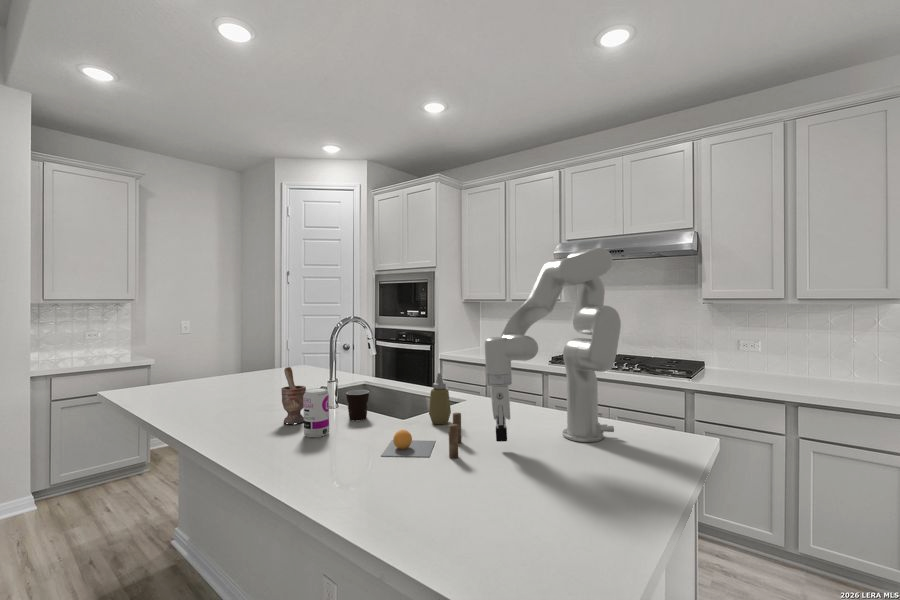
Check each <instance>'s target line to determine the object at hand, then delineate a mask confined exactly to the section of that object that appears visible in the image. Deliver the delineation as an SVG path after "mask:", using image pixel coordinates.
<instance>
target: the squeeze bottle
mask: <svg viewBox="0 0 900 600" xmlns="http://www.w3.org/2000/svg"><path fill="white" fill-rule="evenodd" d="M428 409H429V410H428V414H429V418H430V421H431V423H432V424H435V425H445V424H448V423H449V420H450V416H451V413H452V410H451V409H452V408H451V403H450V392H449V389H448V388H447V383H446V382H444V380H443V376H442V373H441V372H439V373H438V372H437V376H436V380H435V382H434V383H433V384H432V389H431V390H430V395H429V408H428Z"/></svg>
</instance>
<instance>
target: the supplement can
mask: <svg viewBox="0 0 900 600" xmlns="http://www.w3.org/2000/svg"><path fill="white" fill-rule="evenodd" d="M329 396H330V394H329V392H328V390H327V388H323V387H321V388H320V387H319V388H310V389H306V391H305V394H304V396H303V417H304V422H303V435H304V436H305V437H306V436H307V437H306V438H308V437H319V438H321V437H320V436H323V437H325V436H324V435H326V434H327V435H329V433H330V397H329ZM327 435H326V436H327Z"/></svg>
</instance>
